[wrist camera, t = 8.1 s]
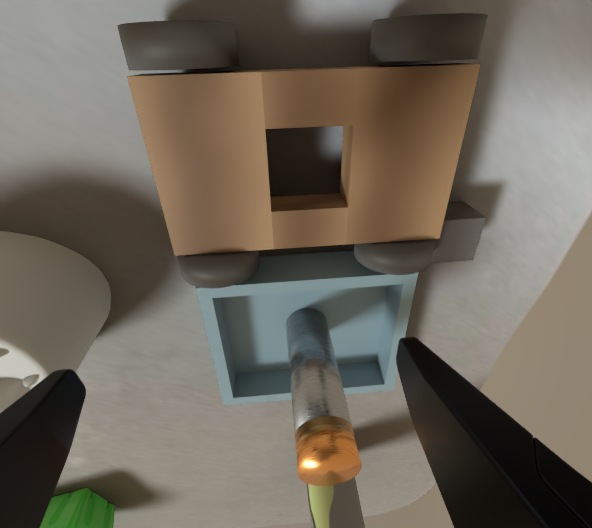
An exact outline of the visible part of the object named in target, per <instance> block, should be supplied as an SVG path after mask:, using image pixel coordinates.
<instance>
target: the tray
mask: <svg viewBox="0 0 592 528" xmlns="http://www.w3.org/2000/svg"><path fill="white" fill-rule="evenodd" d="M259 261H260V264H259V268H258V270H257V271H256V272H255V273H254V274H253V275H252V276H251V277H250V278H248V279H247V280H245V281H243V282H241V283H239V284H236V285H233V286H229V287H224V288H212V289H211V288H201V287H197V286H196V292H197V296H198V300H199V304H200V308H201V312H202V317H203V321H204V325H205V329H206V333H207V337H208V342H209V346H210V350H211V354H212V358H213V362H214V366H215V371H216V375H217V379H218V383H219V387H220V391H221V396H222V400H223V404H224V406H226V405H236V404H247V403H258V402H269V401H280V400H291V399H292V394H291V382H290V370H289V358H288V346H287V334H286V321H287V319H288V317H289V316H290V315H291V314H292V313H293V312H295V311H297V310H299V309H303V308H314V309H317V310H319V311H321V312H322V313H323V314H324V315H325V317H326V319H327V323H328V328H329V332H330V336H331V340H332V344H333V348H334V353H335V357H336V361H337V365H338V369H339V373H340V378H341V382H342V386H343V390H344V394H345V395H346V394H357V393H368V392H379V391H390V390H394V386H395V382H396V377H397V372H398V368H397V364H396V355H397V349H398V343H399V340H400V338H405V334H406V330H407V325H408V320H409V315H410V311H411V306H412V301H413V297H414V292H415V287H416V282H417V278H418V273H419V272H417V273H414V274H409V275H391V274H384V273H380V272H376V271H374V270H371V269H369V268H367V267H365V266H363V265H362V264H361V263H360V262H358V260H357V259H356V258H355V256H354V250H352V251H337V252H321V253H306V254H291V255H276V256H261V257H259Z"/></svg>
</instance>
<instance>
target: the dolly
mask: <svg viewBox="0 0 592 528" xmlns="http://www.w3.org/2000/svg"><path fill="white" fill-rule="evenodd" d="M486 19H487V15H486V14H473V13H459V14H432V15H416V16H404V17H394V18H386V19H379V20H375V21H372V28H371V41H370V53H369V61H439V60H464V59H477V58H478V53H479V49H480V45H481V40H482V36H483V32H484V27H485V23H486ZM117 27H118V30H119V34H120V38H121V42H122V46H123V50H124V53H125V57H126V61H127V65H128V69H129V70H176V69H200V68H219V67H233V66H239V58H238V48H237V39H236V29H235V24H233V23H226V22H213V21H153V22H136V23H126V24H120V25H118V26H117ZM480 66H481V64H466V63H444V64H416V65H387V66H358V67H329V68H301V69H272V70H243V71H214V72H185V73H157V74H140V75H134V76H128V77H127V78H128V82H129V85H130V89H131V93H132V97H133V100H134V104H135V108H136V112H137V115H138V119H139V123H140V127H141V131H142V134H143V138H144V142H145V146H146V149H147V153H148V157H149V161H150V164H151V168H152V172H153V176H154V179H155V183H156V187H157V191H158V195H159V198H160V202H161V206H162V210H163V213H164V217H165V221H166V225H167V228H168V232H169V236H170V240H171V243H172V247H173V251H174V255H175V256H177V257H178V260H179V264H180V268H181V272H182V276H183V278H184V279H185V280H186V281H187V282H188V283H189V284H191V285H194V286H197V287H201V288H211V289H212V288H224V287H229V286H233V285H236V284H239V283H241V282H243V281H245V280H247V279H248V278H250V277H251V276H252V275H253V274H254V273H255V272H256V271H257V270H258V268H259V264H260V261H259V252H258V250H270V249H285V248H300V247H315V246H331V245H346V244H354V256H355V258H356V259H357V260H358V262H360V263H361V264H362V265H363V266H365V267H367V268H369V269H371V270H374V271H376V272H380V273H384V274H391V275H409V274H414V273H417V272H420V271H422V270H424V269H426V268H427V267H428V266H429V264H430V263H437V262H451V261H466V260H473V258H474V255H475V252H476V249H477V245H478V242H479V239H480V236H481V233H482V229H483V226H484V223H485V220H486V217H484V216H483V215H482V214H480V213H479V212H478V211H476V210H475V209H473V208H472V207H471V206H469V205H468V204H467V203H465V202H451V203H448V201H449V197H450V192H451V188H452V184H453V180H454V176H455V171H456V167H457V163H458V159H459V154H460V150H461V146H462V142H463V138H464V133H465V129H466V125H467V121H468V117H469V112H470V108H471V104H472V100H473V96H474V91H475V87H476V83H477V79H478V75H479V70H480ZM323 126H343V146H342V167H341V188H340V193H332V194H314V195H297V196H279V197H271V196H270V183H269V169H268V155H267V141H266V129H278V128H301V127H323Z"/></svg>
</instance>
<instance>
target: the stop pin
mask: <svg viewBox="0 0 592 528" xmlns="http://www.w3.org/2000/svg"><path fill="white" fill-rule="evenodd" d="M286 334H287V346H288V358H289V370H290V382H291V394H292V406H293V418H294V430H295V442H296V454H297V466H298V476H299V478H300V479H301V480H302V481H303V482H305V483H307V484H310V485H314V486H331V485H337V484H341V483H344V482H346V481H348V480H350V479H352V478H354V477H355V476H356V475H357V474H358V473H359V472H360V470H361V461H360V457H359V453H358V449H357V444H356V440H355V436H354V432H353V428H352V424H351V419H350V415H349V411H348V407H347V403H346V398H345V394H344V390H343V386H342V382H341V378H340V373H339V369H338V365H337V361H336V357H335V353H334V348H333V344H332V340H331V336H330V332H329V328H328V323H327V319H326V317H325V315H324V314H323V313H322V312H321V311H319V310H317V309H314V308H303V309H299V310H297V311H295V312H293V313H292V314H291V315H290V316H289V317H288V319H287V321H286Z"/></svg>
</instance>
